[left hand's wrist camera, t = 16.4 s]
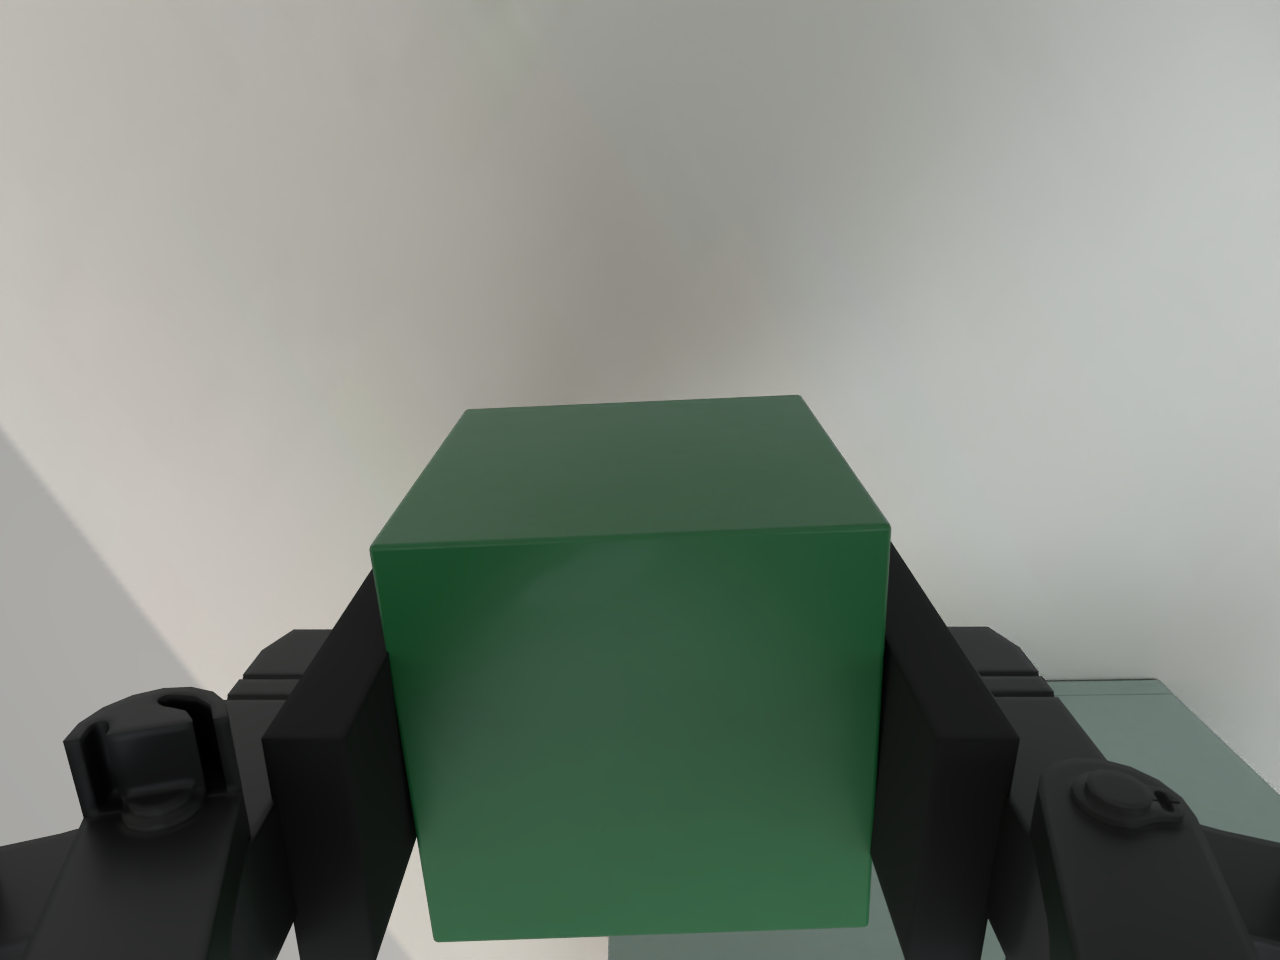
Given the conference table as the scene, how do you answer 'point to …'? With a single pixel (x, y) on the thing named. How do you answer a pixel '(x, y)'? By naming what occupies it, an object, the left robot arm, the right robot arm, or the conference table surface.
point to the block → (638, 670)
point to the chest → (1124, 733)
